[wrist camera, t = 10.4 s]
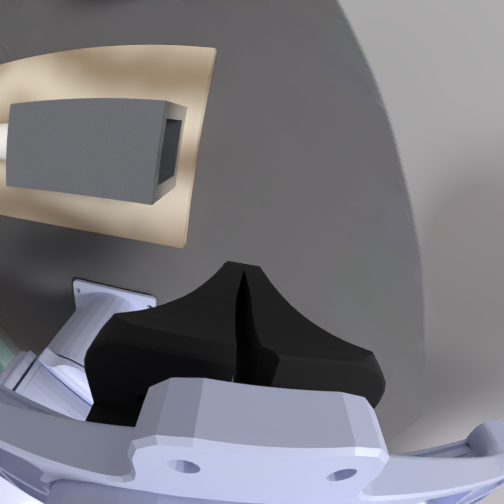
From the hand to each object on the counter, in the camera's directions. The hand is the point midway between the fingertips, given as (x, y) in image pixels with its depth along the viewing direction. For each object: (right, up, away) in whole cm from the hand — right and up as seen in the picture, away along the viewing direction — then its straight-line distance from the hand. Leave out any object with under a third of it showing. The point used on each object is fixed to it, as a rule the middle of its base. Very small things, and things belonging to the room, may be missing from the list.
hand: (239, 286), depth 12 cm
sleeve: (-10, +9, +6) cm, 15 cm away
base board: (-17, +11, +7) cm, 21 cm away
